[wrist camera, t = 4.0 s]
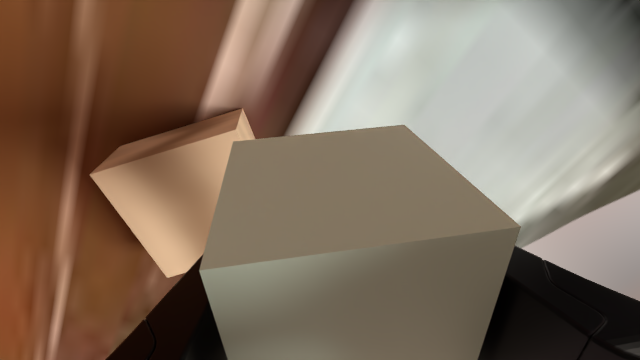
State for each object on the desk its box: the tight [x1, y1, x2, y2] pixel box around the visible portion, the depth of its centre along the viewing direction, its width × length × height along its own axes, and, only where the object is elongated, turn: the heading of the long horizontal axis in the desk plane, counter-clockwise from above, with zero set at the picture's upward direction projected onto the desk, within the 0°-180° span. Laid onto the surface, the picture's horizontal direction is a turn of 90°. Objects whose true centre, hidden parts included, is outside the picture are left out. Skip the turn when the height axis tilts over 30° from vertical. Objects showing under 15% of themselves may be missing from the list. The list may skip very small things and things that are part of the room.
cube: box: [199, 125, 521, 360], centre depth 8 cm, size 5×5×5 cm
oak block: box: [90, 108, 255, 278], centre depth 20 cm, size 8×8×4 cm
